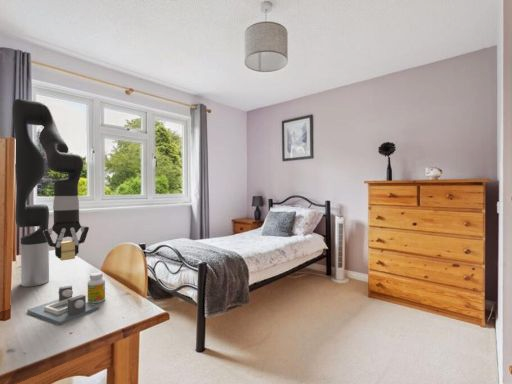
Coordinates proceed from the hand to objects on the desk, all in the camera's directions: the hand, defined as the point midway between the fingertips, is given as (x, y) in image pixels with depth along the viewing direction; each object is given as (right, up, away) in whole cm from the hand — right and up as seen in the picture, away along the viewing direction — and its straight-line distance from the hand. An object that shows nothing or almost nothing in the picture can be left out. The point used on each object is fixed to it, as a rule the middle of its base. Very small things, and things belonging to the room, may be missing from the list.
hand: (67, 256), depth 98 cm
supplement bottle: (+10, -16, +1) cm, 19 cm away
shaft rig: (+4, -16, -8) cm, 18 cm away
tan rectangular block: (0, -1, 0) cm, 1 cm away
